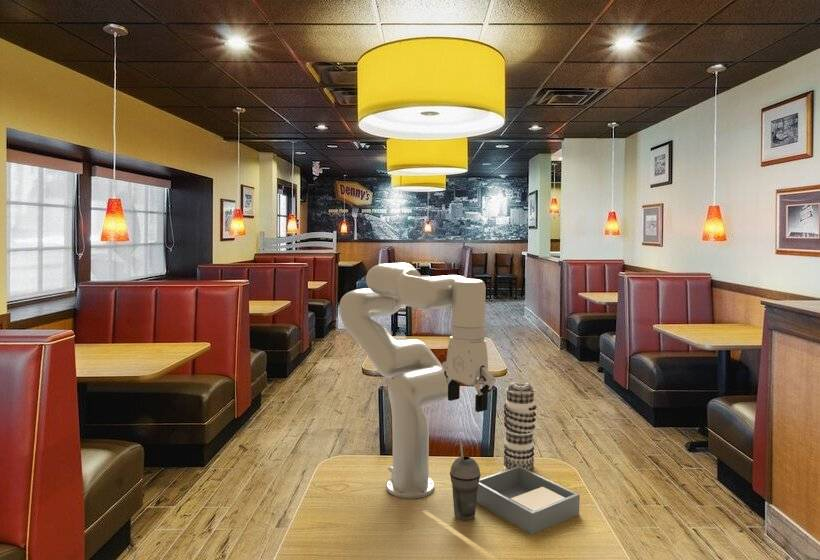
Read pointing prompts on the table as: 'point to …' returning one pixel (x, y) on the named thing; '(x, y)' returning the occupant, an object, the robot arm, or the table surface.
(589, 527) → the table surface
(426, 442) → the robot arm
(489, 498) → the tray
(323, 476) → the table surface
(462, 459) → the beverage cup
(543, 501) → the beige rectangular block
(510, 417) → the decorative candle
